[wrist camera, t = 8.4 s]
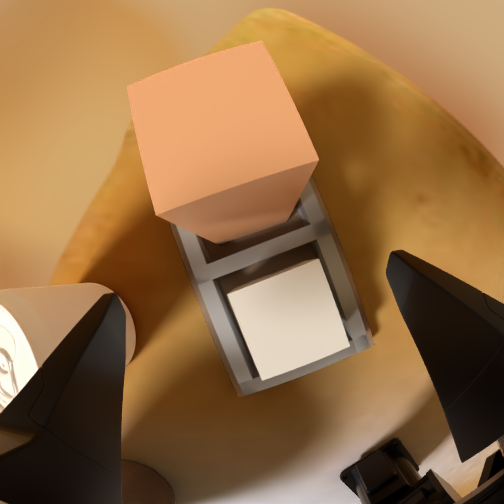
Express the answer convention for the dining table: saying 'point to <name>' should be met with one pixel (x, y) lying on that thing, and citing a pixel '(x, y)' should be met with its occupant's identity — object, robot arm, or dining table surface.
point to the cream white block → (289, 318)
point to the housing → (263, 263)
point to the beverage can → (43, 328)
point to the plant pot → (143, 485)
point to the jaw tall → (222, 143)
